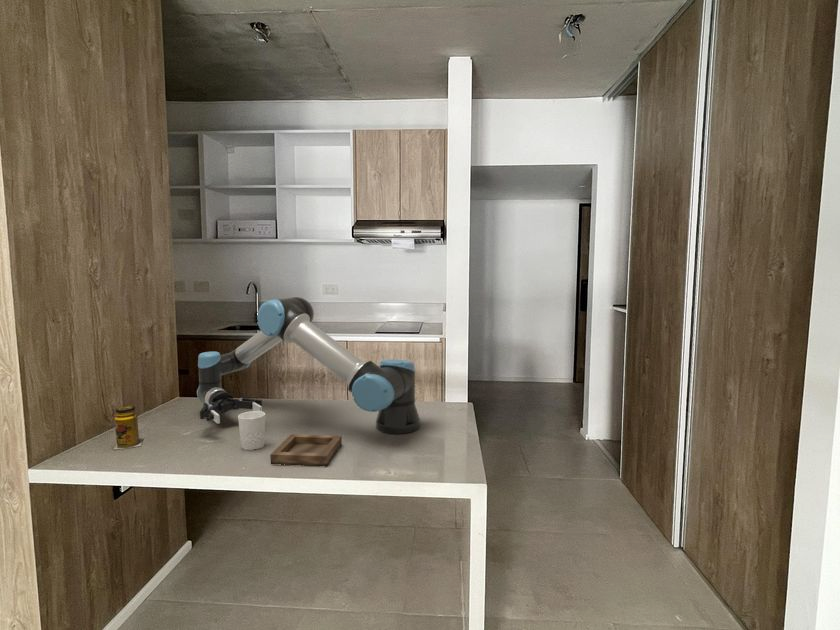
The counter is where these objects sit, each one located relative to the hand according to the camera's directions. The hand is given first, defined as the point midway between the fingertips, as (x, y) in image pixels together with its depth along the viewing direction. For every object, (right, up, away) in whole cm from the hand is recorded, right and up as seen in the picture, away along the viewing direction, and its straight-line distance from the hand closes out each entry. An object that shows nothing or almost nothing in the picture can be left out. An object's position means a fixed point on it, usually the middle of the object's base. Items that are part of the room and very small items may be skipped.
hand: (240, 415), depth 157 cm
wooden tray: (+25, -9, -14) cm, 30 cm away
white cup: (+6, -8, -7) cm, 13 cm away
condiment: (-33, -9, -4) cm, 35 cm away
